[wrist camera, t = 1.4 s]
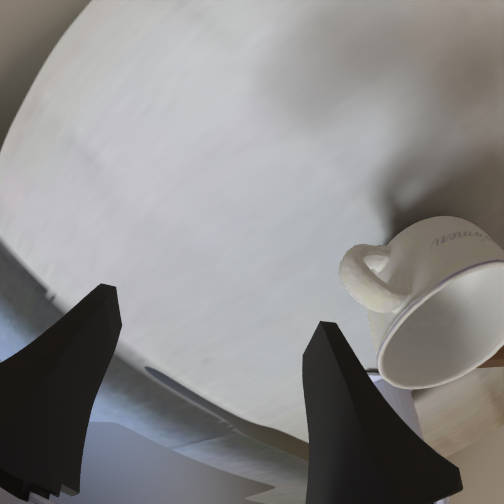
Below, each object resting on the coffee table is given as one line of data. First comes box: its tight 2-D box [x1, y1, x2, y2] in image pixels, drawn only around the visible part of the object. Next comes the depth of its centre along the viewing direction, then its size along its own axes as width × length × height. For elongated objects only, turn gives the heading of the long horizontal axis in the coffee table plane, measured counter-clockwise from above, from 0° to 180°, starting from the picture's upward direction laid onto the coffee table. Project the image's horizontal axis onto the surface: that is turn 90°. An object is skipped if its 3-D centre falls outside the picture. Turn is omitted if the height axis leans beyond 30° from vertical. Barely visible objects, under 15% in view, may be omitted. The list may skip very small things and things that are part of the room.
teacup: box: [339, 216, 504, 389], centre depth 16 cm, size 14×11×8 cm
